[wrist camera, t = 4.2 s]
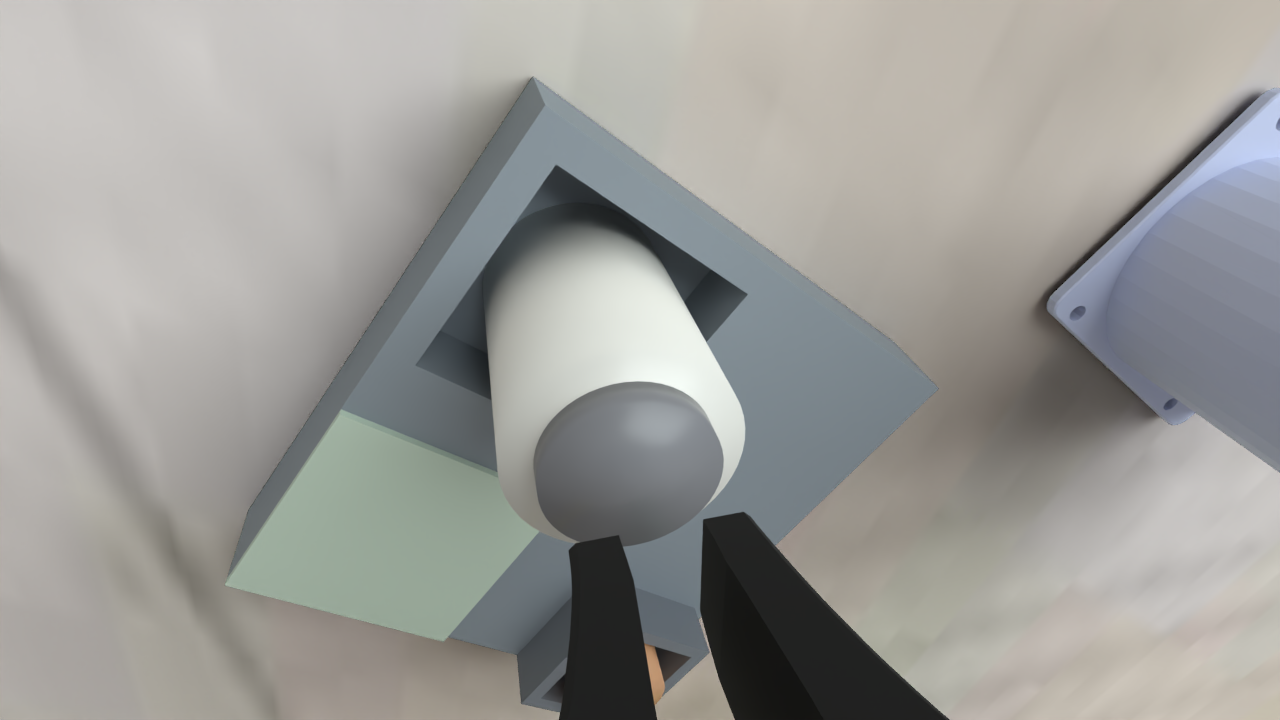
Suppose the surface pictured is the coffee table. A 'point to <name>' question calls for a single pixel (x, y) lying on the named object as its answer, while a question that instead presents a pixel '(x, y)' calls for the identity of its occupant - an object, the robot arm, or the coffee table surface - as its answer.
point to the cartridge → (601, 382)
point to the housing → (464, 429)
